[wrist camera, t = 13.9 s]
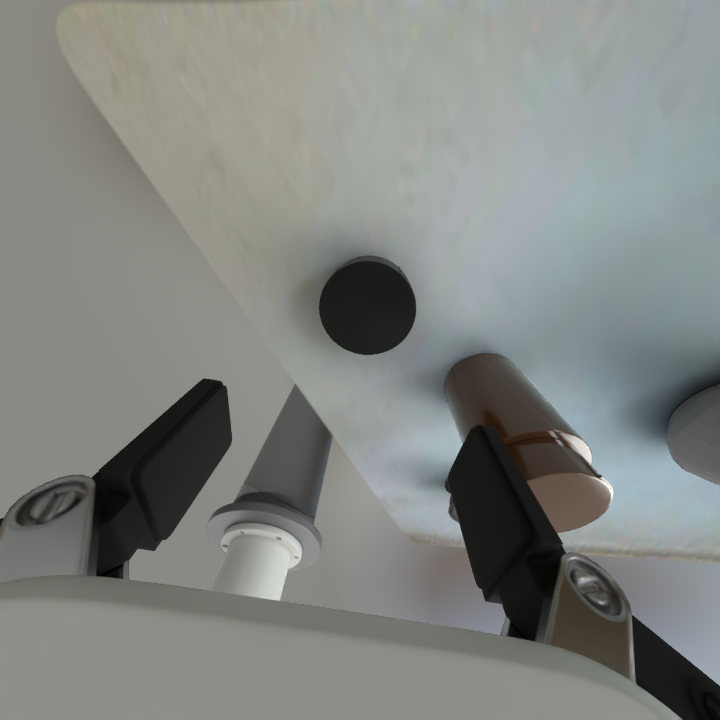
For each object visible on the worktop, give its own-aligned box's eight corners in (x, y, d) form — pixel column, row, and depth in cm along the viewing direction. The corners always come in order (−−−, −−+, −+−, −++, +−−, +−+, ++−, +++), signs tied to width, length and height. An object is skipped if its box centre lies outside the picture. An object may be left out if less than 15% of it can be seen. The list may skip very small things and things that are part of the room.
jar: (474, 422, 28) (533, 551, 17) (428, 386, 26) (462, 505, 15) (534, 382, 25) (651, 507, 14) (487, 338, 23) (580, 444, 12)
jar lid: (363, 233, 20) (360, 235, 17) (431, 296, 22) (438, 306, 19) (309, 306, 23) (300, 317, 20) (373, 355, 25) (372, 370, 22)
